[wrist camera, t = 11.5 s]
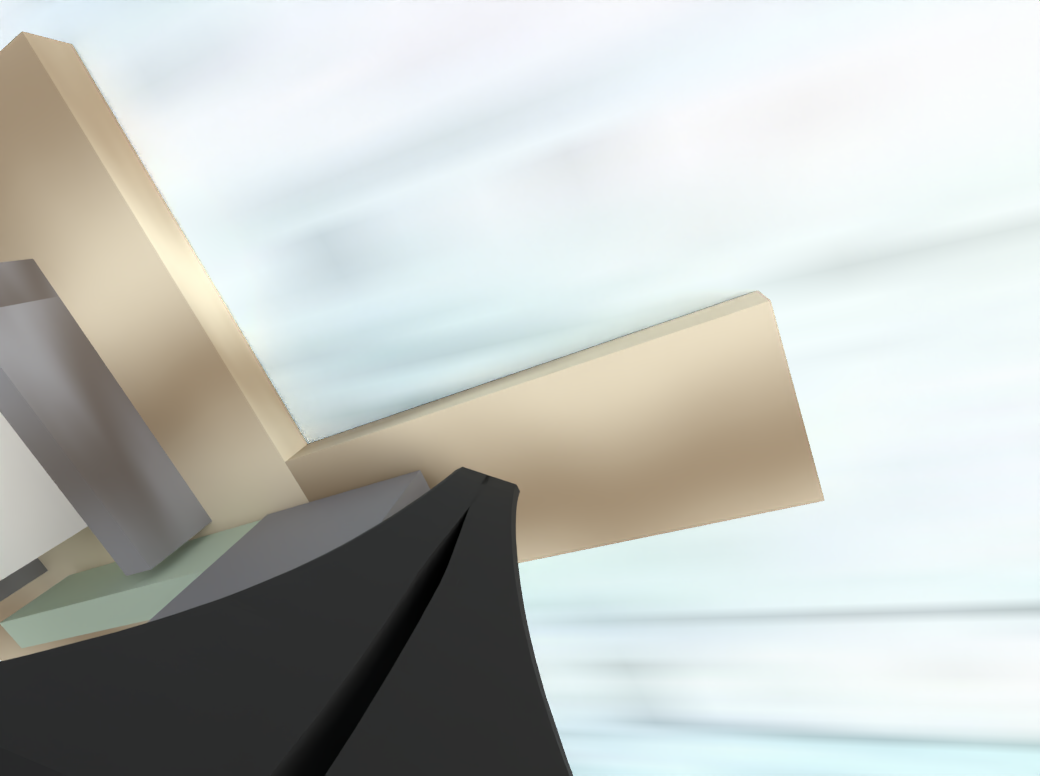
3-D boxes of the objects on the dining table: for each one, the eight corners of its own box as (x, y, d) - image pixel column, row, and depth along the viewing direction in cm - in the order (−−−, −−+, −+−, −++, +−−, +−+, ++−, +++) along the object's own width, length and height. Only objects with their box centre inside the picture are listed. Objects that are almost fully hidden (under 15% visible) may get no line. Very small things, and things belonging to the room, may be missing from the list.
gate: (67, 573, 16) (-94, 682, 13) (420, 470, 12) (328, 592, 8) (89, 600, 17) (-60, 714, 13) (441, 510, 12) (362, 646, 9)
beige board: (-252, 318, 17) (-423, 344, 14) (573, -380, 7) (538, -725, 5) (34, 646, 21) (-55, 715, 18) (809, 474, 11) (866, 566, 9)
